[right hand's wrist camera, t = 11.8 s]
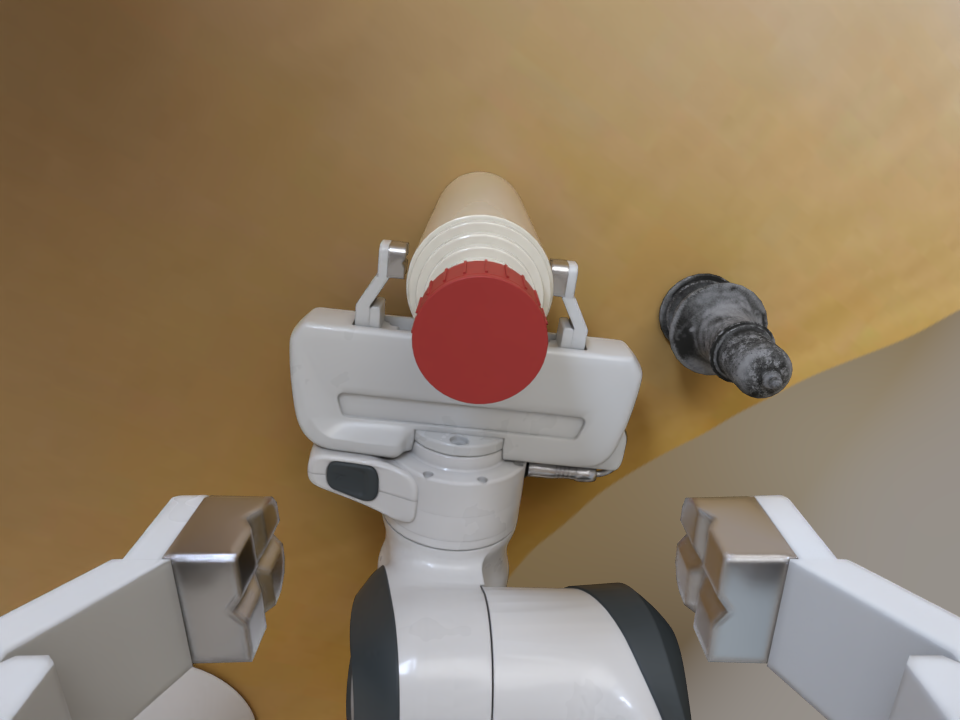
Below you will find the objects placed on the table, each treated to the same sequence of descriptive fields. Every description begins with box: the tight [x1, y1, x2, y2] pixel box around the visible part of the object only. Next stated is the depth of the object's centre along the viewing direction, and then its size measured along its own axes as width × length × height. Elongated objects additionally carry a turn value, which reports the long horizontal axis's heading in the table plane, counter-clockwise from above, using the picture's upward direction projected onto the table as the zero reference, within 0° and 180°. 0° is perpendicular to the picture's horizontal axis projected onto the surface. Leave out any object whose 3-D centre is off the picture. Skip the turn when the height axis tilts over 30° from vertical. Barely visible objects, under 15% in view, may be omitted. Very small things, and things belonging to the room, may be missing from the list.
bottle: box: [406, 172, 554, 320], centre depth 30 cm, size 6×6×23 cm
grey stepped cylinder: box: [659, 274, 792, 398], centre depth 37 cm, size 6×6×12 cm
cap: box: [411, 259, 548, 404], centre depth 20 cm, size 4×4×2 cm
